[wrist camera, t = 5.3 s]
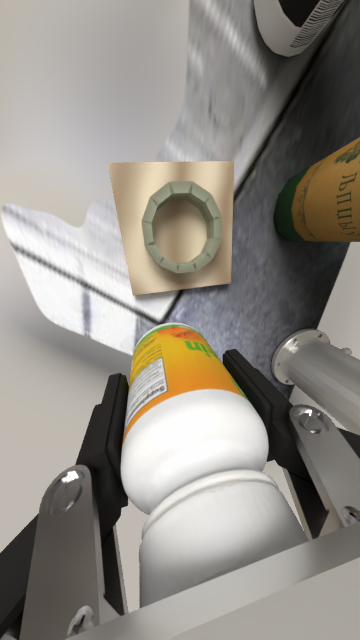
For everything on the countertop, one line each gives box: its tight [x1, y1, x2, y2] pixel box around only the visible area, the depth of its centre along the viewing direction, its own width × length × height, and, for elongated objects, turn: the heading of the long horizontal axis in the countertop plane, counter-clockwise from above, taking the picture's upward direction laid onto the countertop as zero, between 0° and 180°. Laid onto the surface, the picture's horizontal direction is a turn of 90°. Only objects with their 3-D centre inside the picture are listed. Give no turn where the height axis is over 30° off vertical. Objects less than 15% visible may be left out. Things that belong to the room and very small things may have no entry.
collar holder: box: [108, 161, 234, 295], centre depth 21 cm, size 14×14×4 cm
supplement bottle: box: [121, 323, 309, 608], centre depth 8 cm, size 5×5×10 cm
